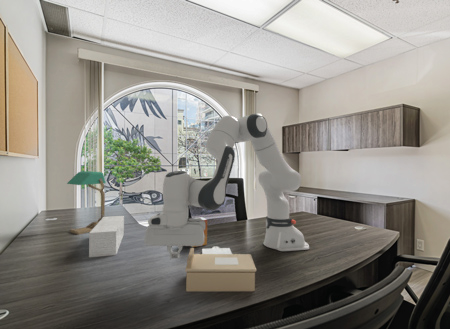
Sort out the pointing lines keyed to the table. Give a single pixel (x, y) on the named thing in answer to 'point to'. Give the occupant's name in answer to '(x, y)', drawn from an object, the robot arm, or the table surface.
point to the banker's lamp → (89, 179)
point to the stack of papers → (106, 236)
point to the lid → (219, 262)
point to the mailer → (220, 281)
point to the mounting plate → (216, 251)
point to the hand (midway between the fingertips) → (174, 257)
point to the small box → (204, 232)
